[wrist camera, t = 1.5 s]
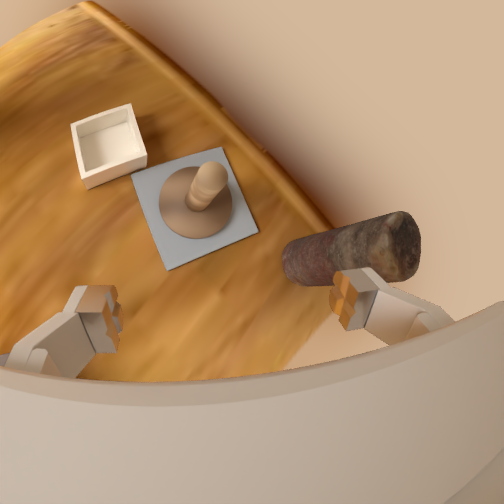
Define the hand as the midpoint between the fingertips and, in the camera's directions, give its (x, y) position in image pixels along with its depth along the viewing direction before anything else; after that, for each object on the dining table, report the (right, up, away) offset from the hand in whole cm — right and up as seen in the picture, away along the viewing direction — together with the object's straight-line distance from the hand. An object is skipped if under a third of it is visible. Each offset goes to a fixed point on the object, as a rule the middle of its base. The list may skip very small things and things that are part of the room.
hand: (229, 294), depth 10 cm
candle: (+8, 0, +33) cm, 34 cm away
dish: (-19, +16, +23) cm, 34 cm away
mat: (-7, +8, +27) cm, 29 cm away
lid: (-7, +8, +27) cm, 29 cm away
